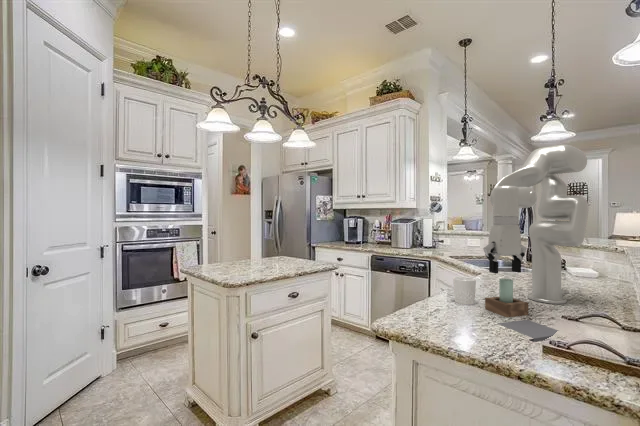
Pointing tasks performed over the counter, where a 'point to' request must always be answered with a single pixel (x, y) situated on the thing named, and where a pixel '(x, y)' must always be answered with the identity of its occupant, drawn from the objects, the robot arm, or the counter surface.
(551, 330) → the mat
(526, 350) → the counter surface
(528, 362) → the counter surface
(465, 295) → the white cup
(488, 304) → the box
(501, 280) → the pale green cylinder
